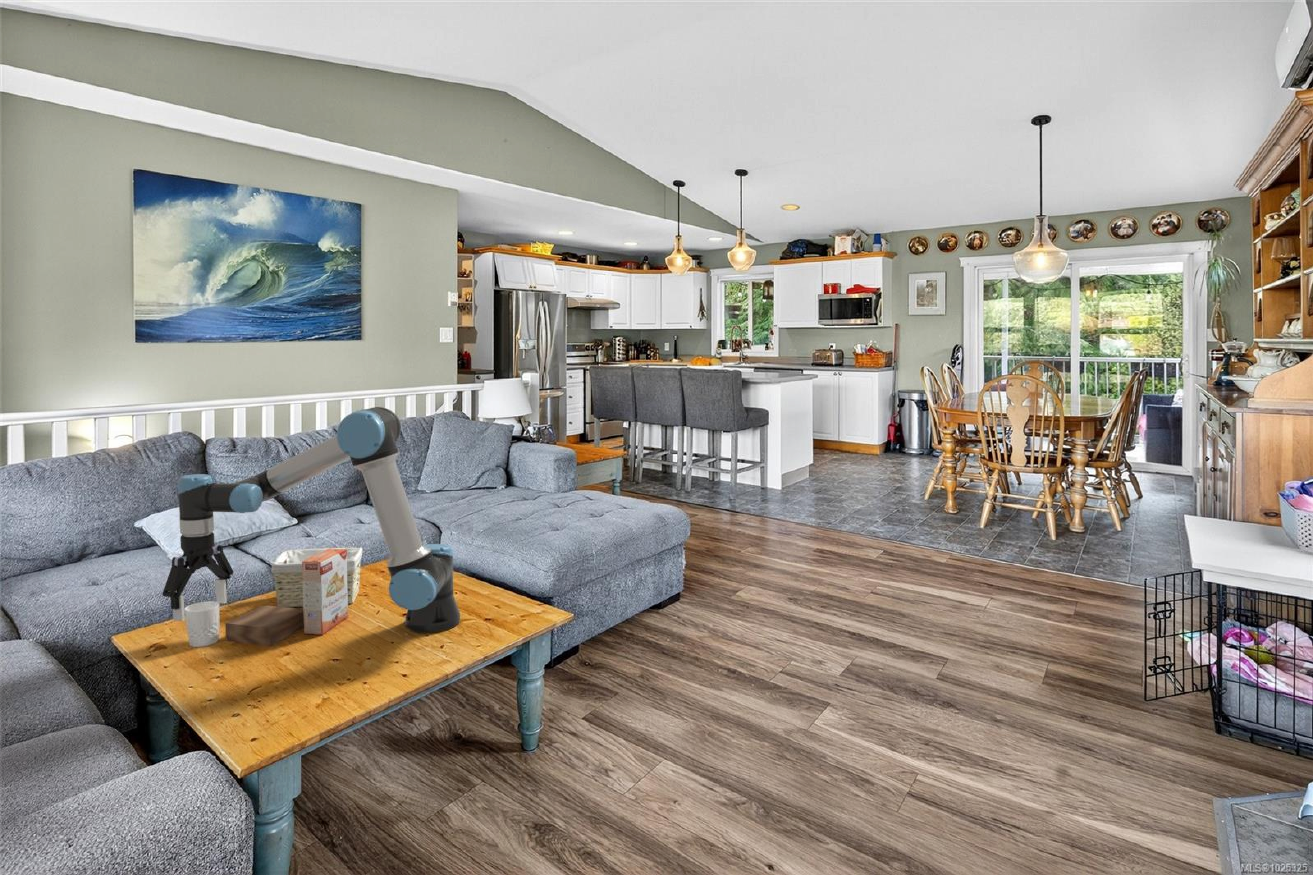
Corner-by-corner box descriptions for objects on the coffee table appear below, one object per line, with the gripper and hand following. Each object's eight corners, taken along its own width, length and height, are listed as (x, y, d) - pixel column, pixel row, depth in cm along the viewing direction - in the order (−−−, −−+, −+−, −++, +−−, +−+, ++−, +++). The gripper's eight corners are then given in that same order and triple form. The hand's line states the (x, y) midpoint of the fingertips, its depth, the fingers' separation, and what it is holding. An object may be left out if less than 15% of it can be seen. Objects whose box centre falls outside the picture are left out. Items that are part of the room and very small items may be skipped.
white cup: (185, 650, 186) (182, 613, 185) (188, 639, 193) (186, 603, 192) (220, 645, 189) (218, 608, 188) (222, 634, 196) (220, 599, 195)
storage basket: (365, 589, 235) (363, 545, 234) (357, 606, 220) (355, 559, 218) (285, 594, 230) (283, 549, 228) (271, 611, 214) (269, 564, 212)
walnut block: (307, 626, 203) (306, 609, 202) (271, 646, 189) (270, 628, 189) (264, 622, 206) (263, 605, 205) (226, 641, 192) (225, 623, 191)
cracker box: (324, 635, 196) (320, 562, 194) (303, 634, 197) (299, 561, 194) (350, 617, 210) (347, 548, 208) (330, 616, 211) (327, 547, 208)
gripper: (223, 521, 200) (226, 594, 203) (142, 544, 176) (147, 626, 179) (246, 523, 199) (249, 597, 201) (167, 546, 175) (172, 630, 177)
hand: (201, 611), depth 190 cm, fingers open, 13 cm apart
